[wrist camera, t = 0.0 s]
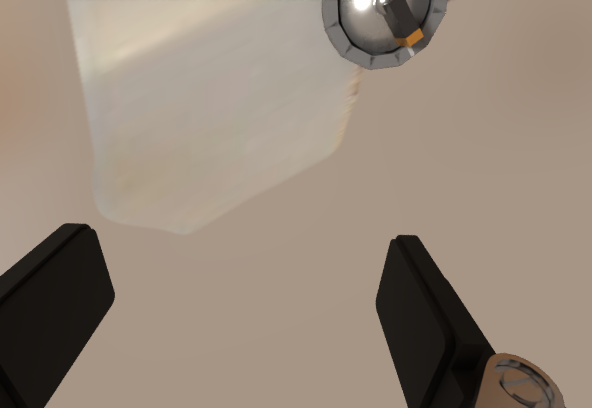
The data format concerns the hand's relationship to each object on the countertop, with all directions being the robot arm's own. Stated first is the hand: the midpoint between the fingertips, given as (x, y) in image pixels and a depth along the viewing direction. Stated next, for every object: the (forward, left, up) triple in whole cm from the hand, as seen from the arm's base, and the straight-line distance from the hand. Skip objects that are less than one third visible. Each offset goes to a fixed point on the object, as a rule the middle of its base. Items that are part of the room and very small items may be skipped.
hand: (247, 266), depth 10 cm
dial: (-11, +12, -35) cm, 39 cm away
